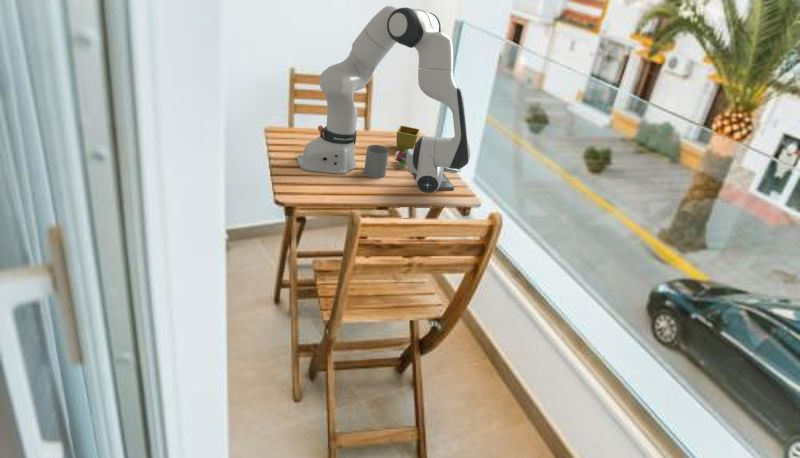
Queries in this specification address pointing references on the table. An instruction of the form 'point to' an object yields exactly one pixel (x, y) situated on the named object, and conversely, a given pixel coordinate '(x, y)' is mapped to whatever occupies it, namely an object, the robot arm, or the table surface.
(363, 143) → the table surface
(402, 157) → the geometric puzzle
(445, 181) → the carrier
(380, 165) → the cup
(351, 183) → the table surface
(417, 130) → the flower pot
